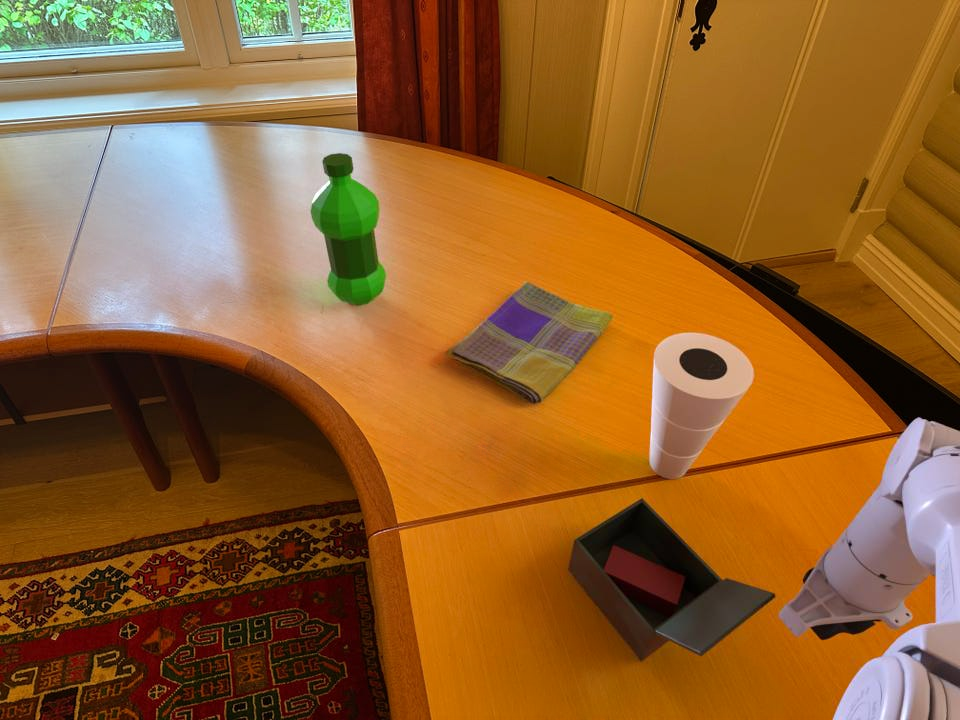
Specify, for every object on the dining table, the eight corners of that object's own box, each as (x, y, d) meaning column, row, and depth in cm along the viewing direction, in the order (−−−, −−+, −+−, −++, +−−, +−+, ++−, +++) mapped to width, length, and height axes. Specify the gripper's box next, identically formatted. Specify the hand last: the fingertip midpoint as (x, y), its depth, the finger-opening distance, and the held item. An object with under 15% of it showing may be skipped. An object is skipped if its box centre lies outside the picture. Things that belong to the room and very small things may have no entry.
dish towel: (616, 326, 100) (619, 312, 98) (534, 413, 86) (535, 399, 84) (528, 287, 108) (529, 274, 106) (440, 361, 93) (439, 347, 92)
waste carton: (708, 610, 65) (724, 582, 60) (640, 662, 61) (653, 635, 57) (632, 528, 72) (642, 497, 68) (567, 569, 68) (573, 539, 64)
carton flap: (726, 577, 60) (727, 581, 60) (654, 630, 56) (656, 634, 56) (774, 592, 55) (776, 596, 55) (699, 652, 51) (701, 656, 51)
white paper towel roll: (726, 467, 79) (772, 367, 66) (677, 513, 74) (718, 414, 61) (659, 420, 85) (690, 320, 72) (610, 460, 79) (634, 360, 67)
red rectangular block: (679, 590, 66) (685, 576, 64) (671, 618, 64) (677, 605, 62) (609, 558, 69) (613, 544, 67) (598, 584, 67) (602, 571, 65)
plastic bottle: (375, 319, 101) (354, 179, 84) (319, 307, 103) (287, 169, 86) (399, 285, 108) (384, 150, 91) (346, 275, 110) (321, 141, 93)
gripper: (864, 639, 41) (792, 708, 50) (1001, 555, 45) (912, 633, 54) (784, 552, 45) (732, 630, 54) (915, 484, 50) (847, 567, 59)
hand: (818, 627), depth 55 cm, fingers closed
